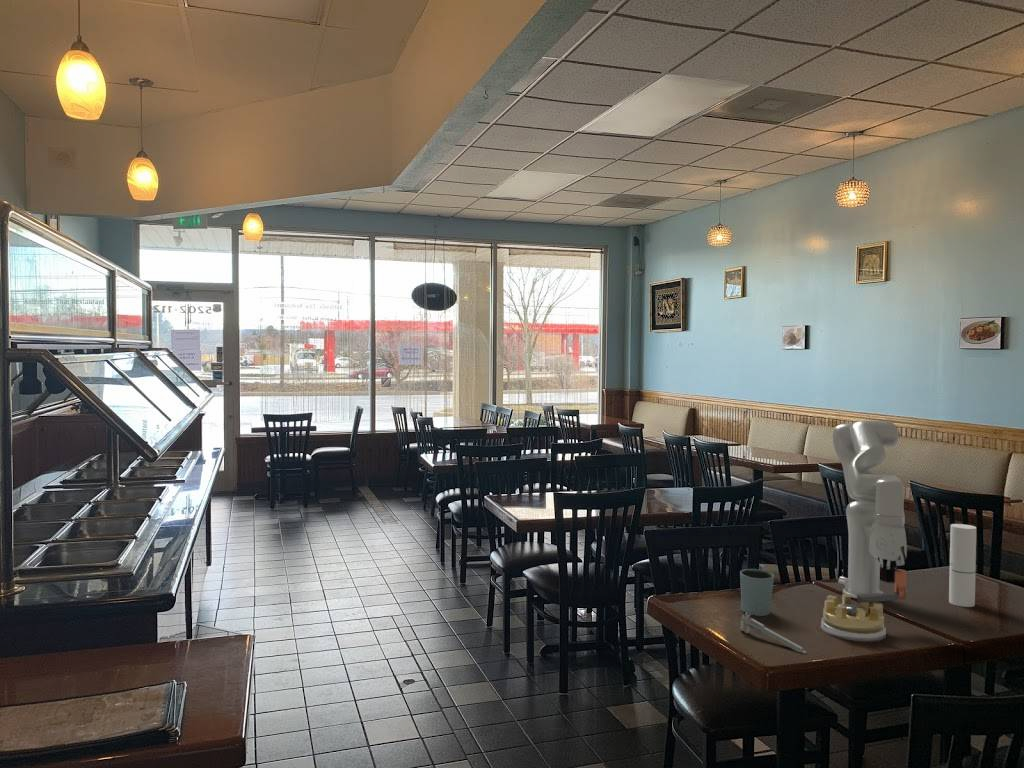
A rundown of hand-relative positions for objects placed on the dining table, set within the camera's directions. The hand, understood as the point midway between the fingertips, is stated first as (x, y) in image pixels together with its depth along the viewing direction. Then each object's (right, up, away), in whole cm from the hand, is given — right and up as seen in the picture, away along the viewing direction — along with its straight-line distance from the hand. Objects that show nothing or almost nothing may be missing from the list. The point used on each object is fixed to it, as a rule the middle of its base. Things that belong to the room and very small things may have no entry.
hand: (888, 581), depth 224 cm
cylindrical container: (+33, -12, +18) cm, 39 cm away
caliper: (-40, -13, -16) cm, 45 cm away
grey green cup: (-36, -12, +9) cm, 39 cm away
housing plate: (-14, -12, -8) cm, 20 cm away
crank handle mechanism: (-11, -10, -7) cm, 16 cm away
